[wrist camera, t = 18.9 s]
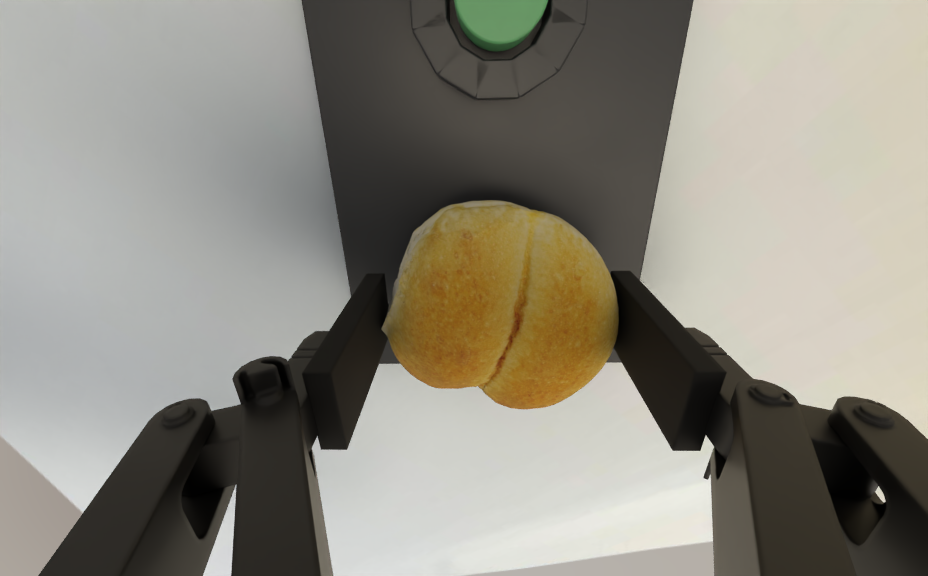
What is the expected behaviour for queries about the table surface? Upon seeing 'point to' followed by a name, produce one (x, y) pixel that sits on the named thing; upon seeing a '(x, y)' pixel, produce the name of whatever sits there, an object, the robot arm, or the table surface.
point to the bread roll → (502, 304)
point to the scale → (494, 120)
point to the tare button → (498, 21)
